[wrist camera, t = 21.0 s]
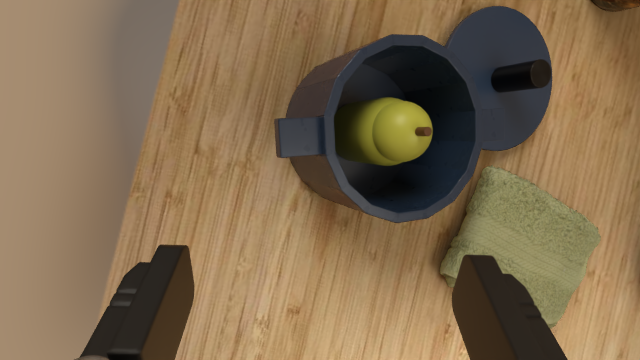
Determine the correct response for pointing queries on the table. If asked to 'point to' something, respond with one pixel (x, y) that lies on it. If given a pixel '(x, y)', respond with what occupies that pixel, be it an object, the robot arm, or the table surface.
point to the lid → (506, 69)
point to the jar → (617, 4)
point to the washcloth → (525, 239)
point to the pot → (405, 84)
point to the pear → (382, 131)
